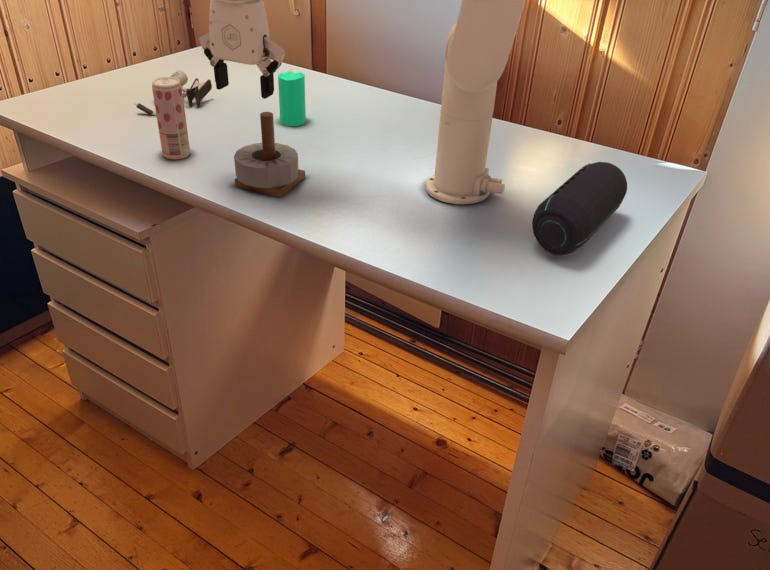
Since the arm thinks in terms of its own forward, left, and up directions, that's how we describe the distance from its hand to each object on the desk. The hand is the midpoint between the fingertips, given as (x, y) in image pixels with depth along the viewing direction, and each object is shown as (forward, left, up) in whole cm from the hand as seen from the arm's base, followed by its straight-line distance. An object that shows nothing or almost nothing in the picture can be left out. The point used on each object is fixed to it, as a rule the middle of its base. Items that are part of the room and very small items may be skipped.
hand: (244, 91), depth 131 cm
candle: (+8, -30, -17) cm, 35 cm away
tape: (-4, 0, -15) cm, 16 cm away
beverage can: (+20, -2, -17) cm, 26 cm away
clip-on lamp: (+38, -25, -17) cm, 48 cm away
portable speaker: (-63, -8, -17) cm, 65 cm away
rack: (-4, 0, -17) cm, 17 cm away
